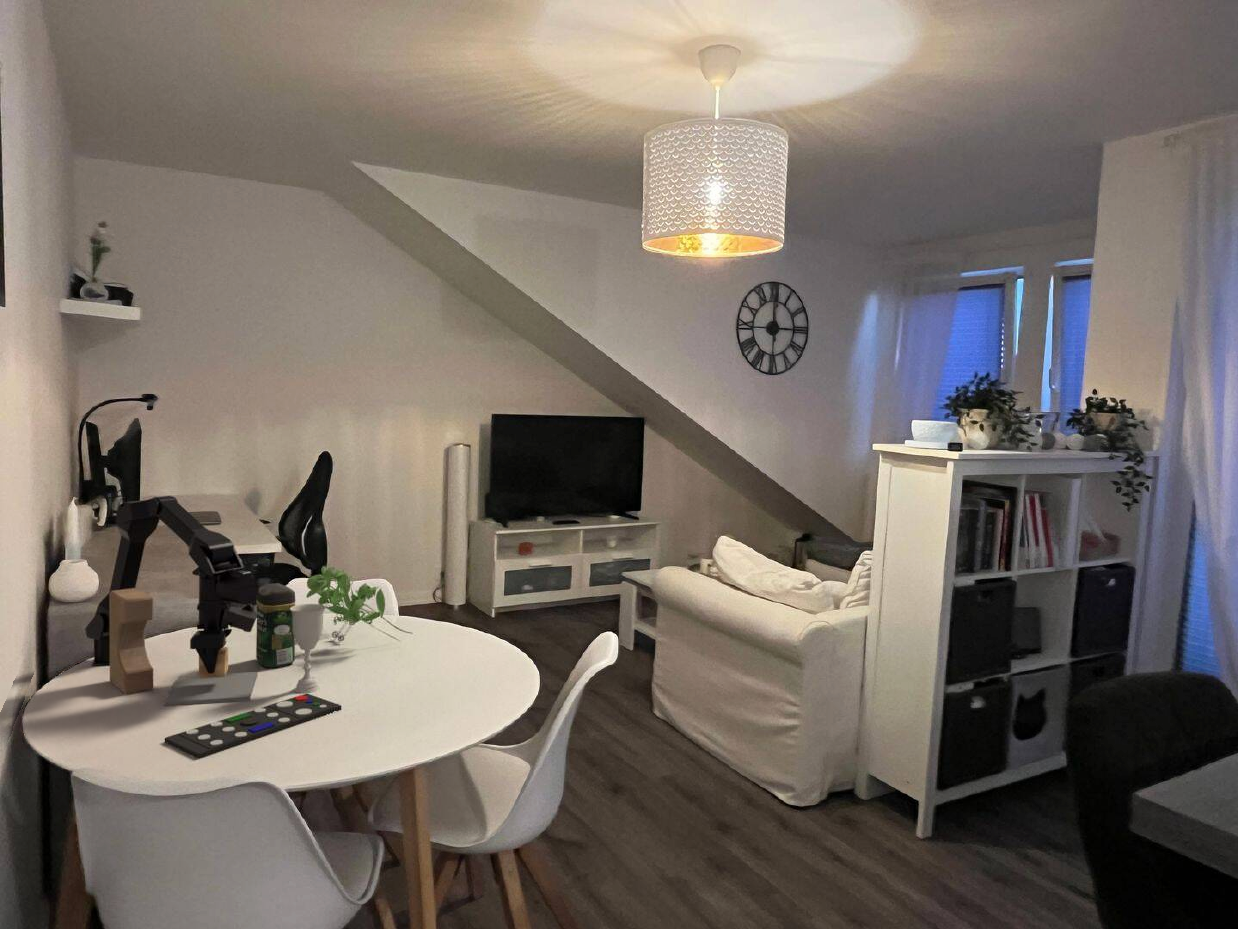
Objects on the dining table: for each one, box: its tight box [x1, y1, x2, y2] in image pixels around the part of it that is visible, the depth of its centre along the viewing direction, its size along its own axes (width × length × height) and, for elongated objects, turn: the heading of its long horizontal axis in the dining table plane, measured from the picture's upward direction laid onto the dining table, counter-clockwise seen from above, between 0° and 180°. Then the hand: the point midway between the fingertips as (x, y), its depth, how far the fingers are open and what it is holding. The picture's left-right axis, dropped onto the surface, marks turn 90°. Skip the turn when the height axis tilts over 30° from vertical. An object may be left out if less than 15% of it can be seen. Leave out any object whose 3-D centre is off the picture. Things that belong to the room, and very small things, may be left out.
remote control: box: [164, 693, 342, 760], centre depth 164 cm, size 11×30×2 cm, turn 147°
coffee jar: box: [255, 582, 296, 668], centre depth 200 cm, size 10×8×19 cm
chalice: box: [290, 603, 327, 694], centre depth 184 cm, size 7×7×18 cm
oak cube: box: [198, 646, 229, 678], centre depth 181 cm, size 5×5×5 cm
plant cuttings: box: [306, 565, 413, 644], centre depth 222 cm, size 35×17×22 cm
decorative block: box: [108, 587, 154, 695], centre depth 181 cm, size 11×6×20 cm, turn 45°
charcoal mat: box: [163, 671, 258, 707], centre depth 182 cm, size 16×16×1 cm
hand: (213, 669), depth 181 cm, fingers closed on oak cube, 5 cm apart
